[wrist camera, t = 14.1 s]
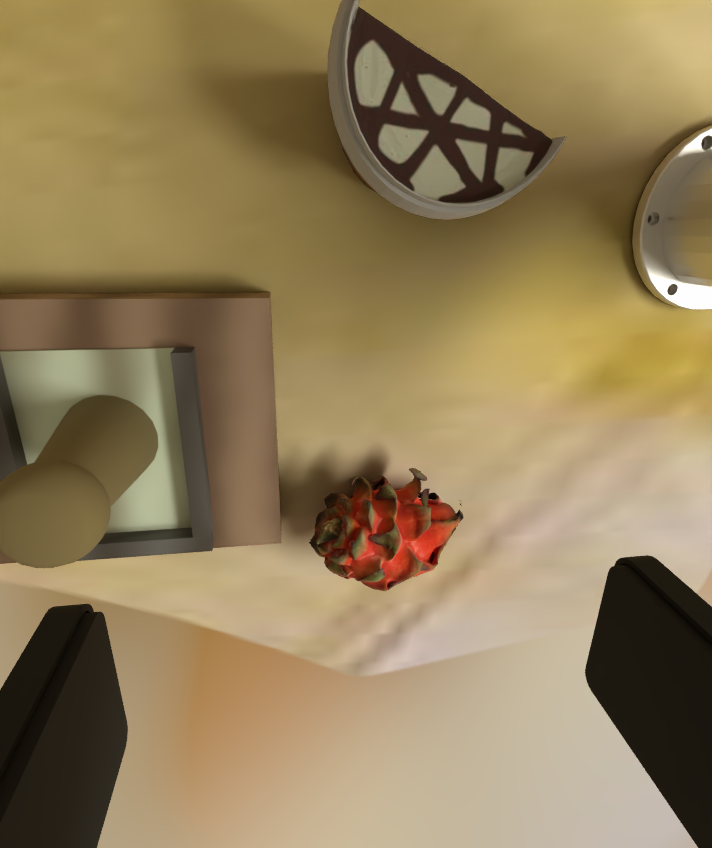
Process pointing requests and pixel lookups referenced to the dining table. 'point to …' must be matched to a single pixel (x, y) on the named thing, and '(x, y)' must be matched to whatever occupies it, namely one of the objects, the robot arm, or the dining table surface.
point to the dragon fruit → (383, 531)
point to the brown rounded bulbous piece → (75, 482)
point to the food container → (424, 125)
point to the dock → (155, 407)
